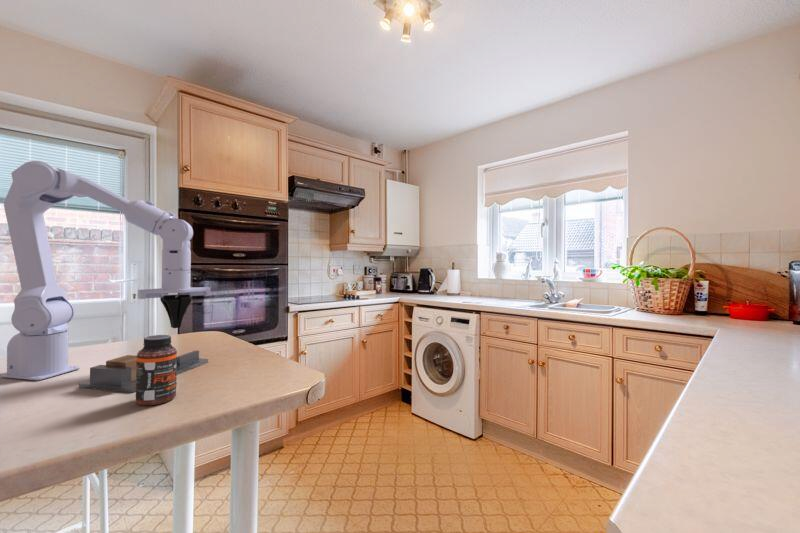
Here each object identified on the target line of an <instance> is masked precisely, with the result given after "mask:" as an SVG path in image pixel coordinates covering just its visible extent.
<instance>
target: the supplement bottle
mask: <svg viewBox="0 0 800 533" xmlns="http://www.w3.org/2000/svg"><path fill="white" fill-rule="evenodd" d="M171 343H172V336H171V335H169V334H159V335H158V334H156V335H155V334H154V335H150V336H145V337H144V338H143V347H142V349H140V350H138V352H137V354H136V356H137V361H136V392H135V402H136V403H137V404H138V405H140V406H156V405H157V406H158V405H161V404H165V403H168V402H170V401H171V400H173V399H174V398H175V397H176V395H177V376H178V375H177V373H176V372H177V357H178V350H177V349H176V347H174V346H173V345H172V344H171Z"/></svg>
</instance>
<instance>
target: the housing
mask: <svg viewBox="0 0 800 533" xmlns="http://www.w3.org/2000/svg"><path fill="white" fill-rule="evenodd" d="M136 361H137V355H131V354H127V355H122V356H120V357H115V358H112V359H109V360H106V361H105V365H110V366H122V367H131V381H133V380H136Z"/></svg>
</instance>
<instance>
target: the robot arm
mask: <svg viewBox="0 0 800 533" xmlns="http://www.w3.org/2000/svg"><path fill="white" fill-rule="evenodd" d="M10 174H11V178H12V183H11V184H10V187H9V190H8V192H7V194H6V197H5V199H4V201H3V208H4V212H5V218H6V223H7V226H8V231H9V232H8V233H9V236H10V241H11V245H12V246H11V247H12V249H13V250H12V251H13V255H14V256H13V257H14V260H15V266H16V269H17V275H18V279H19V283H20V288H21V289H20V290H19V292H18V293H17V295H16V296H15V298H14V299H13V304H14V310H13V312H12V315H11V318H10V320H11V323H12V326H13V328H15V330H17V331H18V332H19V333H17V334H15V335H13V336H12V337H11V338H10V340H9V341H8V343H7V346H6V373H4V374H1V378H6V379H7V378H9V379H19V380H29V381H40V380H44V379H48V378H51V377H56V376H58V375H62V374H66V373H69V372H73V371H77V370H80V366H76V365H69V326H68V324H69V323H70V322H71V321H72V320H73V318H74V317H75V314H76V313H75V312H76V311H75V308H74V305H73V304H72V303H71V302H70V301H69V299H68V297H67V293H66V292H65V290H64V289H63V288H62V287H60V286H59V284H58V282H57V281H58V280H57V276H56V270H55V266H54V260H53V256H52V251H51V247H50V246H51V245H50V240H49V238H48V232H47V231H48V230H47V226H46V220H45V217H44V216H45V215H44V213H45V212H47V211H48V210H49V209H50V208H52V207H53V206H55V205H57V204H59V203H62V202H64V201H67V200H69V199H72V198H73V197H77V198H90V199H91V200H94V201H97V202H99V203H101V204H103V205H105V206H107V207H110V208H112V209H114V210H116V211H119V212H121V213H123V215H124V216H125V219H126V222H128V223H129V224H132V225H134V226H136V227H138V228H141V229H142V230H145V231H146V232H149V233H150V234H153V235H156V236H159V237H160V238H161V239H162V250H161V288H148V289H144V288H143V289H137V299H138V300H146V299H158V298H159V300H160V302H161V304H162V305H163V307H164V309H165V312H166V313H167V316H168V319H169V322H170V327H171V328H172V329H179V328H181V326H182V323H183V318H184V316H185V313H186V312H187V309H188V308H189V306H190V304H191V303H192V298H193V297H196V296H211V287H209V286H208V287H207V286H203V287H202V286H200V287H199V286H197V287H196V286H195V287H193V286H191V281H192V280H191V277H192V276H191V275H192V274H191V272H192V271H191V268H192V265H191V264H192V262H191V261H192V251H191V241H190V240H192V239H193V237H194V229H193V227H192V225H191V224H190V223H189V222H188V221H186V220H185V219H180V218H177V217H176V214H175V213H173V212H169V213H168V212H167V211H165V210H162V208H161V209H160V208H159V207H156V206H155V205H156V203H154V202H152V201H150V200H146V201H145V200H143V199H138V200H132V201H131V200H129V199H127V198H126V197H124V196H122V195H120V194H119V193H116V192H114V191H112V190H110V189H108V188H107V187H105V186H103V185H100V184H99V183H97V182H96V181H94V180H91V179H89V178H87V177H85V176H81V175H78V174H76V173H73V172H70V171H67V170H65V169H62V168H59V167H54V166H52V165H51V164H48V163H46V162H44V161H40V160H39V161H38V160H31V161H27V162H24V163H23V164H22V165H20V166H18V167H17V168H16V169H14V170H13V171H12V172H11V173H10ZM192 296H193V297H192Z"/></svg>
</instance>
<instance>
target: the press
mask: <svg viewBox="0 0 800 533" xmlns="http://www.w3.org/2000/svg"><path fill="white" fill-rule="evenodd" d="M208 363H209V358H201V357H200V350H192V351H190V352H188V353H187V352H186V353H184V354H181V355H179V356H178V355H177V372H176V373H177V376H178V375H180V374H183V373H185V372H187V371H190V370H192V369H194V368H198V367H199V366H200V367H201V366H203V365H204V364H208ZM78 388H79V389H80V388H81V389H91V390H99V389H100V390H102V391H110V392H111V391H113V392H122V393H123V392H124V393H136V380H133V381H131V367H122V366H110V365H106V364H99V365H98V364H97V365H95V366H93V367H89V380H86V381H82V382H79V383H78Z"/></svg>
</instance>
